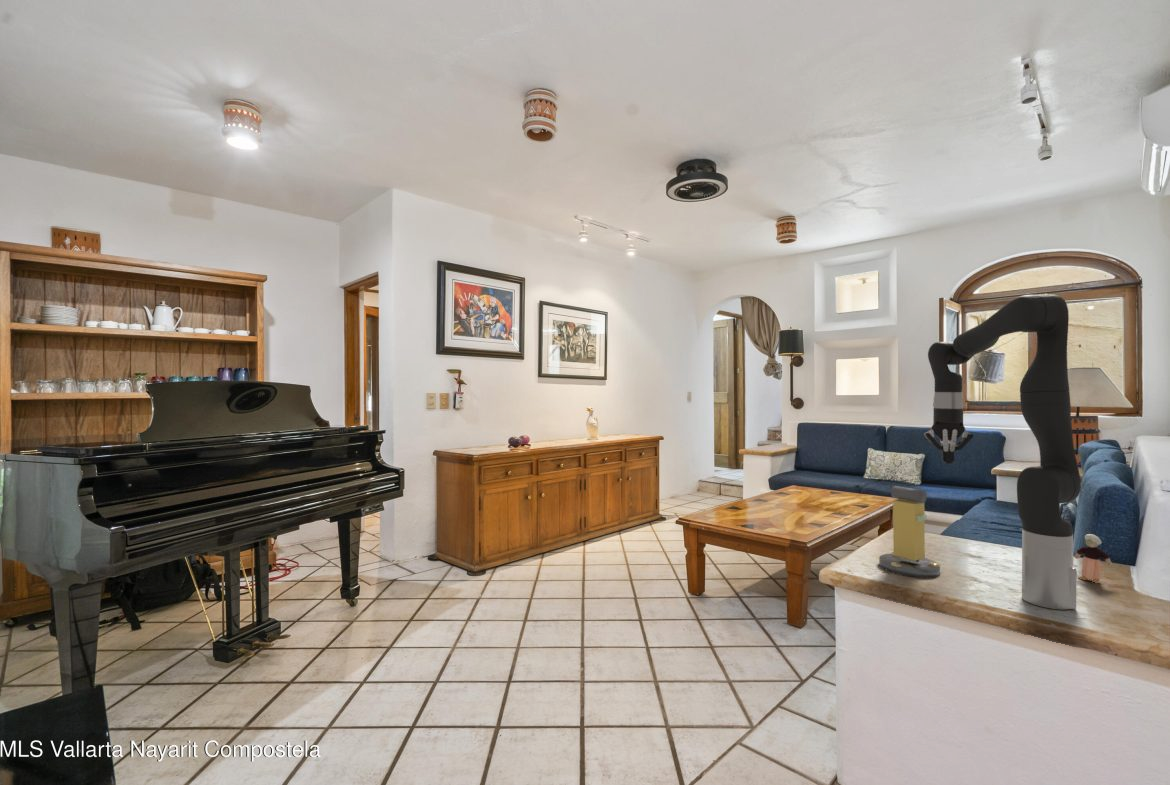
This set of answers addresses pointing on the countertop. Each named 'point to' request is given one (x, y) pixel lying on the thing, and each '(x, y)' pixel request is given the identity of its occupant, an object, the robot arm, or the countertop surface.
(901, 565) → the levelling base
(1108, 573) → the countertop surface
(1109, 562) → the grandmother figurine
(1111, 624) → the countertop surface
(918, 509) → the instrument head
